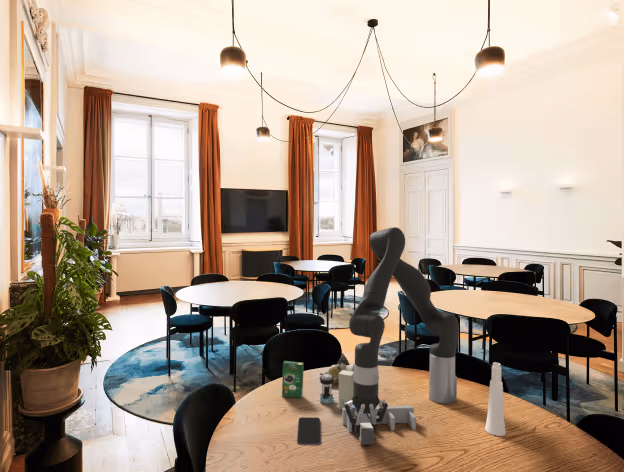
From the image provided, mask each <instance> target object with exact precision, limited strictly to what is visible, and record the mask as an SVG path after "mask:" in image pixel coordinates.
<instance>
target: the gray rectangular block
mask: <svg viewBox="0 0 624 472" xmlns="http://www.w3.org/2000/svg"><path fill="white" fill-rule="evenodd" d="M355 414H356V412H354V417H355ZM360 425H361V427H360V437H358V440H359V441H360V443H361V445H363V446H365V445H375V434H374V429H373V427H372V425H371V423H370V421H369V419H368V417H367V415H366V413H365V414H363V415H362V418H361V421H360ZM353 426H354V427H355V424H354V425H353Z"/></svg>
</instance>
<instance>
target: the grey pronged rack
mask: <svg viewBox="0 0 624 472" xmlns="http://www.w3.org/2000/svg"><path fill="white" fill-rule="evenodd" d="M379 408H380V407H379V406H377V407H376V409H375V410H374V412H375V416H377V413H378V410H379ZM341 410H342V417H341V418H342V419H341V420H342V421H341V423H342V425H343V426H346V429H347V432H348V433H353V426H354V423H350V420H349V418H348V415H347V412H346V409H345V408H342V409H341ZM350 411H351V414H352V416H353V417H354V412H356V408H355V406H354V405H352V409H351V410H350ZM414 413H415V408H414V406H413V405H394V406H393V405H391V406H389V405H388V407H387V410H386V412H385V415H384V418H383V420H382V422H378V423H376V425H380V424H381V425H382V424H383V425H385V424H387V425H388V427H389V429H390V430H391V432H392V431H393V432H394V431H395V429H396V427H395V426H396V424H408V425H409V426H410V428H411V429H412V431H413V430H414V431H416V430H417V416H416V415H415V414H414ZM366 415H367V417H368V419H369V421H371V419H370V414H368V413H366Z"/></svg>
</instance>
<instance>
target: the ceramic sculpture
mask: <svg viewBox="0 0 624 472" xmlns="http://www.w3.org/2000/svg"><path fill="white" fill-rule="evenodd" d="M354 366H355V363H354V364H349V365H346V364H345V363H343V362H337V364H333V365H331V366H330V367H329V369H328V370H327V371H326V372H324V373H322V372H320V373H319V375H320V376H322V375H323V374H331V375H332V377H334V380H333V384H332V385H335V384H339V373H340V372H341V371H342V370H345V371H351V372H354Z"/></svg>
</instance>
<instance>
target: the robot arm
mask: <svg viewBox="0 0 624 472" xmlns="http://www.w3.org/2000/svg"><path fill="white" fill-rule="evenodd" d="M368 240H369V246H370V248H371V251H372V252H373V254H374V255H375V257H376V258H377V259H378V261H380V262H379V264H378V265H377V266H376V268H375V269H374V271H372V273H371V275H370V277H368V280H367V281H366V283H365V288H364V290H363V295H362V298H361V299H360V301H359V303H358V304H357V306H356V308H355V309H354V311H353V312H352V314H351V316H350V318H349V323H348V326H349V327H348V328H349V331H350V333H351V334H353V335H355V336H358V337H364V338H369V339H370V340H369V342H361V343H358V344H356V345H355V347H354V364H355V366H354V385H353V398H352V400H351V401H349V402H346V401H345V402H344V403H343V404H344V407H345V409H346V412H347V415H348V418H349V420H350V423H354V424H355V426H354V433H355V435H356V436H357V438H359V437H360V427H361V425H360V421H361V418H362V415H363V414H365V413H368V414H370V419H371V421H370V423H371V425H372V427H373V429H374V435H376V434H377V424H376V423H378V422H382V420H383V418H384V415H385V412H386V410H387V407H388V406H389V405H388V403H387V401H386V400H385V399H382V400H381V399H380V398H379V380H380V375H379V350H380V349H379V348H380V345H381V340H382V339H383V338H382V337H383V334H384V332H385V327H386V325H385V324H386V323H385V320H384V318H383V317H382V316H381V315H379V314H376V313H375V314H373V313H372V312H377V311H381V310H382V309H383V308H384V307H385V303H386V298H387V295H388V289H389V287H390V283H391V280H392V278H394V279H395V280H396V282H397V284H398V285H399V287H400V289H401V290H402V291H403V292H404V294H405V296H406V297H407V298H408V300H409V301H410V303H411V305H412V306H413V307H414V308H415V310H416V311H417V314H418V315H419V316H420V319H421V320H422V323H423V324H424V326H425V328H426V329H427V331H428V332H429V333H430V334H432V335H435V336H439V341H438V343H432V344H431V345H430V346H429V370H428V371H429V374H428V375H429V377H428V378H429V379H428V384H429V385H428V387H429V388H428V398H429V399H430V400H431V401H433V402H434V403H438V404H446V405H447V404H448V405H449V404H452V403H455V402H457V399H458V398H457V394H458V391H457V390H458V387H457V386H458V377H457V375H456V352H457V348H458V340H459V339H458V338H459V321H458V317H456V315H455V314H452V313H448V312H444V311H440V310H439V309H437V308H436V307H435V305H434V303H433V302H432V300H431V297H432V296H431V295H432V293H431V292H432V289H431V286H430V283H429V282H428V280H427V279H426V277H425V276H424V274H423V273H422V272H421V271H420V270H419V269H418V268H416V267H414V266H413V265H411V264H410V263H408V262H407V261H404V260H403V259H401V257H402V254H403V253H404V250H405V245H406V237H405V233H404V232H403V231H402V229H401V228H399V227H395V226H394V227H389V228H385V229H381V230H377V231H374V232H372V233H371V234H370V235H369V239H368ZM352 405H354V406H355V408H356V414H355V417H353V416H352V414H351V411H350V410H351V409H352ZM376 407H380V408H379V410H378V413H377V416H375V412H374V410H375V409H376Z"/></svg>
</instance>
